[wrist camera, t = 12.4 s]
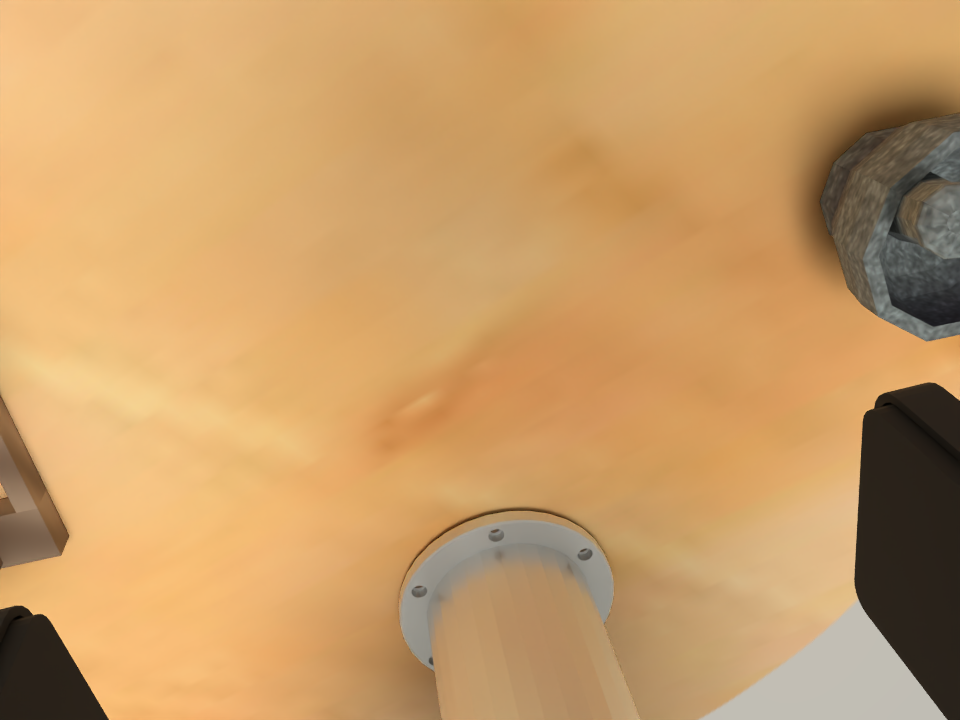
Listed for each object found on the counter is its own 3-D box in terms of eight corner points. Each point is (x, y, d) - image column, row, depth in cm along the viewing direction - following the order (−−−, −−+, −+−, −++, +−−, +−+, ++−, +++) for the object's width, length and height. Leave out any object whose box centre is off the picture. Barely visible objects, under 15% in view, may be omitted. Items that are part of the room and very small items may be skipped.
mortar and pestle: (1011, 146, 42) (1240, 225, 31) (891, 306, 45) (1062, 426, 35) (844, 37, 38) (1042, 86, 28) (726, 221, 41) (864, 327, 31)
